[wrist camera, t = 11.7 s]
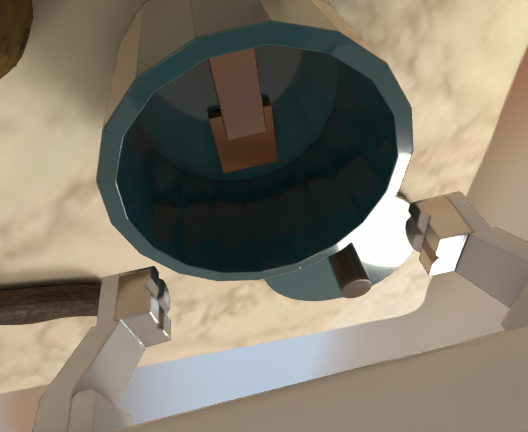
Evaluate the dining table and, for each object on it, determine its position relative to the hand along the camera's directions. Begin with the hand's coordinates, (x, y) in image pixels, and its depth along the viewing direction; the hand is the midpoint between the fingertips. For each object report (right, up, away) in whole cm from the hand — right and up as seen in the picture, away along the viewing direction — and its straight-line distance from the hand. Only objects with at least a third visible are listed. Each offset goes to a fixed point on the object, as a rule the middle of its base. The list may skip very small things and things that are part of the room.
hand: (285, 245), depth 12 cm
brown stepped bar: (-2, +8, +12) cm, 14 cm away
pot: (-2, +8, +12) cm, 15 cm away
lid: (+7, -2, +24) cm, 25 cm away
